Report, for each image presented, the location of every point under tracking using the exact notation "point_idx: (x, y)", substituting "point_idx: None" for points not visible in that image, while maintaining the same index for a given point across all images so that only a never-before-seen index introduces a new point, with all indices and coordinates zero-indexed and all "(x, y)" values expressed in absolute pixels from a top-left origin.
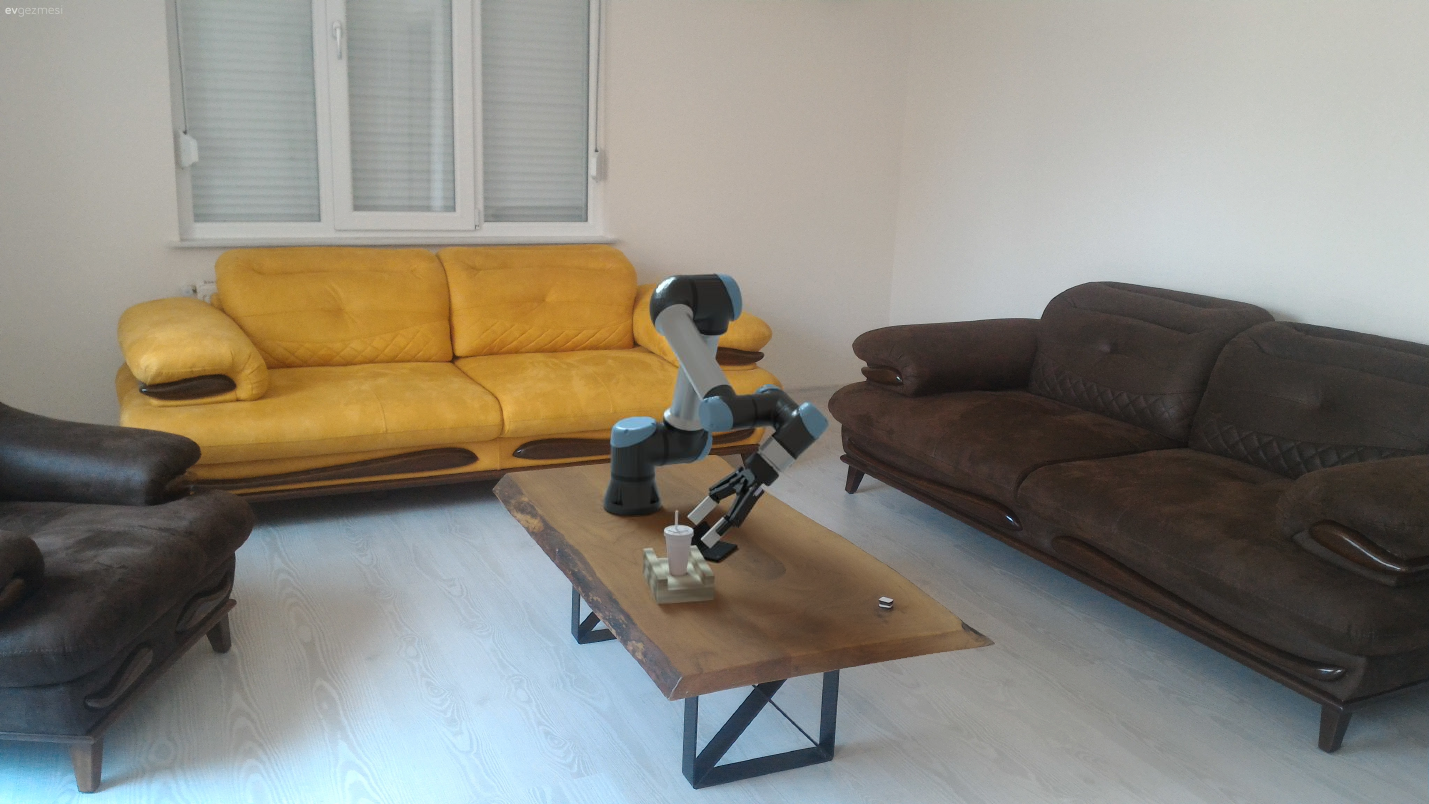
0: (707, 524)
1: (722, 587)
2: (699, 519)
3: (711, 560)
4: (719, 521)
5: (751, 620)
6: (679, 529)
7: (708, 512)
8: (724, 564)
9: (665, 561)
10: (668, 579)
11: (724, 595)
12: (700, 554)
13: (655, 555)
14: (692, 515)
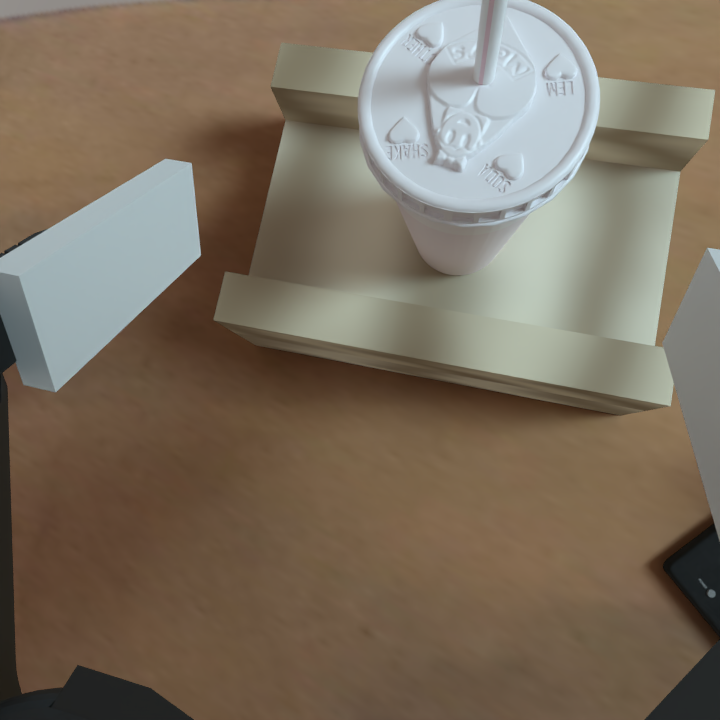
0: None
1: (359, 441)
2: (677, 360)
3: (692, 542)
4: (39, 244)
5: (31, 406)
6: (476, 100)
7: (693, 442)
8: (623, 588)
9: (618, 224)
10: None
11: (279, 410)
12: (516, 370)
13: None
14: (708, 282)
